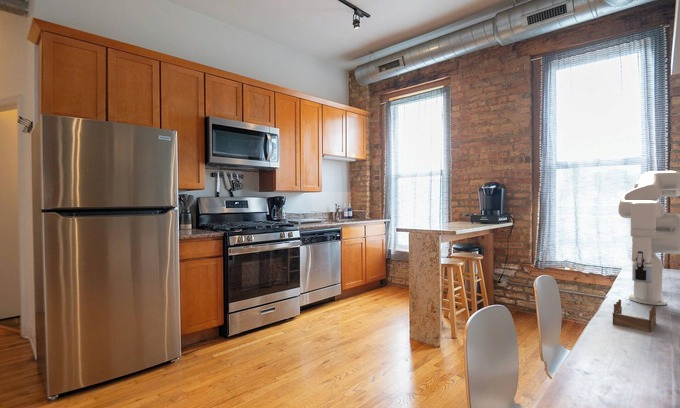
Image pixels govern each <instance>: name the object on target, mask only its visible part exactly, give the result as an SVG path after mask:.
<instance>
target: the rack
mask: <svg viewBox="0 0 680 408" xmlns="http://www.w3.org/2000/svg"><path fill="white" fill-rule="evenodd" d="M622 309H623V307H622V300H621V299H618V301H615V303H613V312H612V325H615V326H620V327H625V328H630V329H634V330H638V331H643V332H648V333H652V332H653V330H654V328H655V326H656V325H657V305H652V307H651V308H650V310H649V312H648V313H649V314H648V319H647V318H641V317H638V316H637V317H636V316H633V315H626V314H622V311H623V310H622Z"/></svg>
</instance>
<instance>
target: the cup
mask: <svg viewBox="0 0 680 408" xmlns="http://www.w3.org/2000/svg"><path fill="white" fill-rule="evenodd" d="M631 264H632V271H631V273H632V274H631V277H632V278H631V280H632V281H633V282H634V281H636V282H642V283H652V266H653V264H651V263H646V267H645V270H646V281H643V280H636V279H635V269H636V262H633V261H631Z"/></svg>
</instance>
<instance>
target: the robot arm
mask: <svg viewBox="0 0 680 408" xmlns="http://www.w3.org/2000/svg"><path fill="white" fill-rule="evenodd" d="M662 197H664V198H665V197H667V198H669V197H670V198H671V197H672V198H673V197H675V198H676V197H680V172H679V171H675V170H658V171H648V172H644V173H642V174H641V175H639V178H638V181H636V182H635V183H634V187H633V189H631V190H629V191H627V192H625V193H623V195H622V196H621V198H620V200H619V204H618V214H619V216H620V217H621V218H624V219H630V235H629V236H630V237H631V242H632V246H631V262H636V269H635V279H636V280H643V281H646V270H645V267H646V263H651V264H653V266H652V283H642V282H636V281H633V294H631V295H629V297H628V298H629V300H630V301H633V302H636V303H640V304H643V305H644V304H645V305H652V306H666V305H667V304H668V301H667V300H665V299H663V272H664V271H663V268H664V267H663V266H664V265H663V262H662V259H661V258H660V257H659V256H658V255H657V254H658V253H659V254H669V255H680V213H678V212H677V213H676V212H665V210H666V209H665V205H663V204H662V202H661V201H659V199H660V198H662Z"/></svg>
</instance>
